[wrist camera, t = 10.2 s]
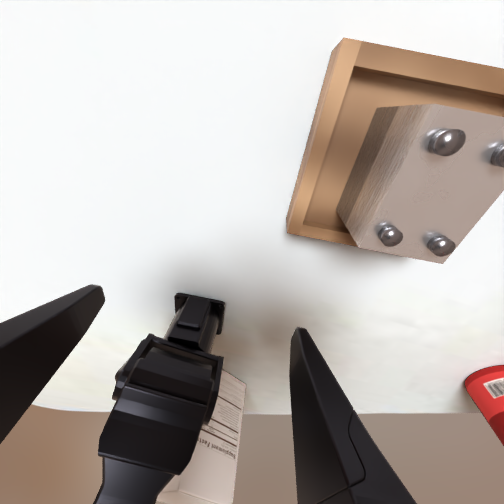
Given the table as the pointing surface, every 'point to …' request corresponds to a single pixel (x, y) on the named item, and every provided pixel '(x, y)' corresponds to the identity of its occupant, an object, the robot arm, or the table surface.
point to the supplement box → (213, 453)
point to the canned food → (489, 396)
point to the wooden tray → (362, 111)
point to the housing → (423, 179)
